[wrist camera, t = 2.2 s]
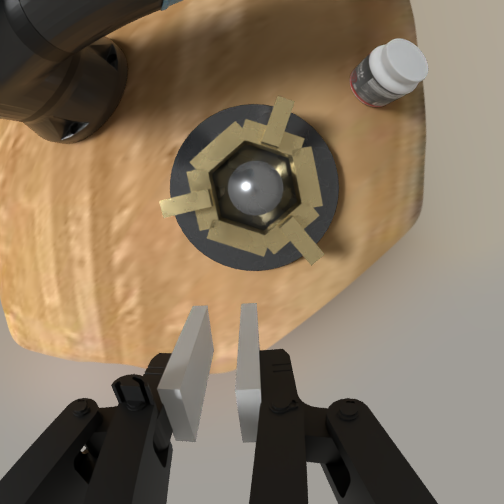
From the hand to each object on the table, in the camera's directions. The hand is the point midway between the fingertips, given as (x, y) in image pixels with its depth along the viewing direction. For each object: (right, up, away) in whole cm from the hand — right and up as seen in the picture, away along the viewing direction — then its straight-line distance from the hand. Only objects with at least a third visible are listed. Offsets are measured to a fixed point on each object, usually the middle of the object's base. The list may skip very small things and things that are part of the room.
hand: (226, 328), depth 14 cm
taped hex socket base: (+2, +10, +15) cm, 18 cm away
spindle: (+2, +11, +16) cm, 20 cm away
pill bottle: (+15, +24, +14) cm, 31 cm away
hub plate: (+2, +11, +16) cm, 20 cm away
